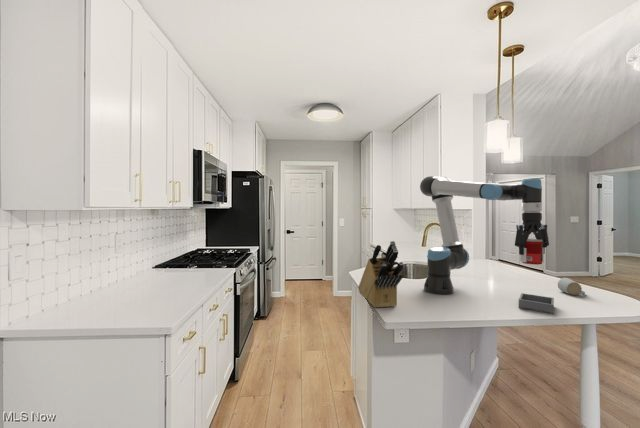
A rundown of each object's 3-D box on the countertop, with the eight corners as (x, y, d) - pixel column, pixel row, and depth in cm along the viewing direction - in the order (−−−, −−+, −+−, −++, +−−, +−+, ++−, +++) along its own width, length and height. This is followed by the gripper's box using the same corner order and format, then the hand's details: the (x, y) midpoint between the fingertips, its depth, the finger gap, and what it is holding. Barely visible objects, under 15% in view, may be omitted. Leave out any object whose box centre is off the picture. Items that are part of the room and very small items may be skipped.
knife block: (380, 315, 130) (381, 243, 129) (357, 292, 165) (358, 235, 164) (405, 314, 132) (406, 242, 131) (377, 291, 167) (378, 234, 166)
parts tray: (518, 308, 140) (518, 299, 140) (521, 301, 150) (521, 293, 150) (553, 314, 132) (553, 304, 132) (553, 306, 142) (553, 297, 142)
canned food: (545, 264, 137) (545, 240, 137) (525, 264, 138) (525, 240, 138) (537, 262, 144) (537, 238, 144) (518, 261, 146) (518, 238, 146)
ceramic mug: (567, 295, 159) (568, 281, 159) (556, 291, 167) (557, 277, 167) (589, 296, 158) (590, 281, 158) (577, 292, 166) (578, 278, 166)
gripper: (517, 212, 136) (517, 263, 137) (559, 211, 139) (559, 262, 139) (505, 212, 144) (505, 260, 144) (545, 211, 146) (545, 259, 146)
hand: (531, 261), depth 141 cm, fingers closed on canned food, 8 cm apart
